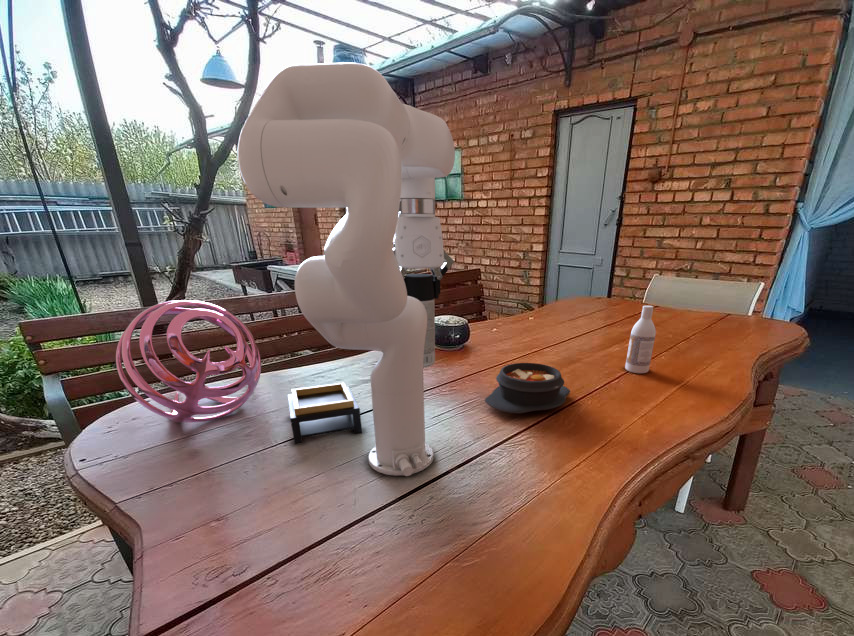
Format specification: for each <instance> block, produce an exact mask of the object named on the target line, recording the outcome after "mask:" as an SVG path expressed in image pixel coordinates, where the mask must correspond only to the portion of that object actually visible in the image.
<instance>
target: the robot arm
mask: <svg viewBox="0 0 854 636" xmlns="http://www.w3.org/2000/svg"><path fill="white" fill-rule="evenodd" d="M455 160H456V150H455V142H454V138H453V136H452V132H451V130H450V128H449V126H448V124H447V122H446V121H445V120H444V119H443V118H441V117H440V116H438V115H436V114H434V113H431V112H428V111H425V110H422V109H419V108H417V107H414V106H412V105H409V104H405V103H403V102H402V101H401V100H400V99H399V97H398V94H396V92H395V91H394V89H393V88H392V87H391V85H390V84H389V82H388V80H386V78H385V77H384V76H383V75H382V73H380V71H378V70H377V69H375V68H374V67H373V66H370V65H368V64H365V63H359V62H347V61H346V62H324V63H321V62H320V63H296V64H291V65H288V66H285V67H284V68H282V69H281V70H280V71H279V72H277V73H276V74H275V75H274V77H272V79H271V80H270V81H269V83H268V84H267V85H266V87H265V88H264V90H263V91H262V93H261V95H260V97H259V98H258V100H257V102H256V104H255V105H254V107H253V108H252V109H251V111H250V113H249V114H248V116H247V117H246V120H245V121H244V123H243V125H242V127H241V130H240V134H239V137H238V143H237V162H238V169H239V172H240V175H241V178H242V180H243V183H244V184H245V185H246V187H247V189H248V190H249V192H250V193H251V194H252V195H253V196H254V197H255V198H256V199H257V200H259V201H260V202H262V203H263V204H265V205H268V206H271V207H275V208H285V209H289V208H291V209H292V208H293V209H295V208H296V209H297V208H298V209H299V208H303V209H304V208H306V209H307V208H308V209H309V208H310V209H311V208H313V209H316V208H317V209H318V208H319V209H320V208H321V209H328V208H330V209H331V208H333V209H341V208H342V209H346V213H345V214H344V216H343V217H342V218H341V219H340V220H339V221H338V222H337V223H336V225H335V226H334V227H333V229H332V231H331V232H330V234H329V236H328V238H327V239H326V242H325V245H324V251H323V255H317V256H311V257H309V258H307V259H305V260H304V261H303V262H302V263H300V265H299V267H298V268H297V269H296V273H295V276H294V293H295V298H296V303H297V305H298V307H299V310H300V312H301V314H302V315H303V317H304V318H305V319H306V321H307V322H309V324H310V325H311V326H312V327H313V328H314V329H315V330H316V331H317V332H318V333H319V334H320V335H321V336H322V337H323V339H325V340H326V341H327V342H328V343H329V344H330V345H332V347H335V348H338V349H342V350H353V351H354V350H357V351H360V350H361V351H374V352H381V353H382V356H381V357H380V358H379V360H378V361H377V362H376V363H375V365H374V366H373V367H372V370H371V372H370V377H369V378H370V379H369V381H370V393H371V402H372V403H371V405H372V418H373V429H374V430H373V432H374V442H375V446H374V447H373V448H372V449H371V450H370V451H369V453H368V456H367V457H368V464H369V466H370V467H371V469H373V470H374V471H376V472H378V473H380V474H383V475H386V476H397V477H398V476H405V477H409V476H411V475H413V474H416V473H419V472H421V471H424V470H426V469H427V468H428V467H429V466H430V465H431V464H432V463H433V460H434V450H433V448H432V447H431V446H430V445H429V444H428V443H426V426H425V422H426V421H425V420H426V419H425V389H424V387H425V385H424V367H423V357H424V344H425V336H426V329H427V312H426V309H425V307H424V305H423V304H422V303H421V302H420V301H419V300H418V299H416V298H414V297H411V296H407V289H406V282H405V281H404V278H405V276H406V273H407V271H408V269H429V270H430V273H431V275H433V288H434V300H439V298H440V296H439V295H441V280H442V279H443V277H444V276H445V275H446V274H447V273H448V271H449V269H450V268H451V267H452V266H453V265H454V263H455V261H454V259H453V258H452V257H451V256H450V255H449V254H448V253H447V252H446V251H445V250H444V239H443V230H442V224H441V219H440V217H439V216H436V179H435V178H438V179H439V178H446V177H448V176H449V175H450V174H451V173H452V170H453V168H454V165H455Z"/></svg>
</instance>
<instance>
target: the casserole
mask: <svg viewBox="0 0 854 636" xmlns="http://www.w3.org/2000/svg"><path fill="white" fill-rule="evenodd" d="M495 380H496V382H497V383H498V386H497V387H496V388H494V389H493V390H492V392H491V394H489V395H488V396H487V397H485V398H484V402H485V404H487V405H488V406H489V407H491V408H492V409H495V410H498V411H501V412H505V413H509V414H518V415H521V414H524V413H530V412H538V411H540V412H541V411H549V410H553V409H555V408H558V407H560V406H562V405H563V404H565V402H566V399H567V397H568V396H569V394H570V393H571V390H570V389H569V388H568V387H567V386H565V380H564V378H563V377H562V373H561V372H560V370H558V369H557V368H555V367H553V366H550V365H547V364H542V363H537V362H516V363H511V364H510V363H509V364H507V365H504V366H502V367H501V368H500V371H499V373H498V374H497V376H496V378H495Z"/></svg>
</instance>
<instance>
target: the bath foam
mask: <svg viewBox="0 0 854 636" xmlns="http://www.w3.org/2000/svg"><path fill="white" fill-rule="evenodd" d="M653 310H654V306H653V305H647V304H646V305H645V304H644V305H642V310H641V314H640V318H639V319H638V320H637V321H636V322H635V324H634V325H633V327H632V329H631V332H630V335H629V336H630V337H629V343H628V348H627V353H626V360H625V365H624V368H625V370H626V371H627V372H629V373H632V374H646V373H648V372H649V370H650V366H651V361H652V356H653V350H654V346H655V340H656V334H657V330H656V326H655V324H654V322H653V320H652V317H653Z"/></svg>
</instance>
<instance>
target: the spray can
mask: <svg viewBox="0 0 854 636" xmlns="http://www.w3.org/2000/svg"><path fill="white" fill-rule="evenodd" d="M404 281H405V282H406V289H407V296H411V297H414V298H416V299H418V300H419V301H420V302H421V303H422V304H423V305H424V307H425V309H426V312H427V329H426V336H425V344H424V357H423V368H429V367H431V366H433V365H435V363H436V330H435V329H436V325H435V324H436V322H435V321H436V319H435V318H436V317H435V315H436V314H435V313H436V312H435V309H436V308H435V298H434V288H433V275H432V273H431V274H429V273H409V274H405V276H404Z"/></svg>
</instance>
